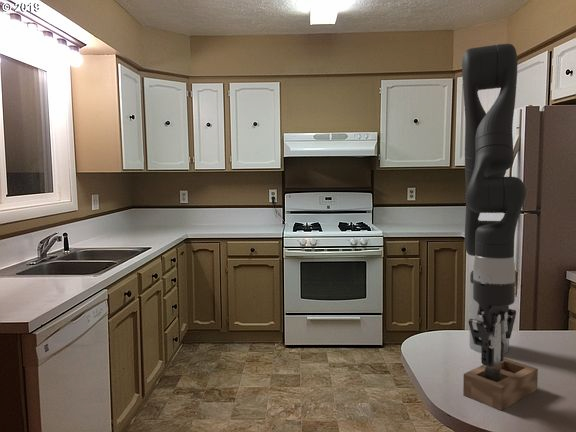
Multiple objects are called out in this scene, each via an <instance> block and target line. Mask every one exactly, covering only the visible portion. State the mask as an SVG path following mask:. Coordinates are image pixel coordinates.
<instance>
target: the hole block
mask: <svg viewBox="0 0 576 432" xmlns="http://www.w3.org/2000/svg"><path fill="white" fill-rule="evenodd" d="M538 371H539V368H537V367H534V366H530V365H527V364H525V363H522V362H521V363H520V362H518V361H514V360H511V359H509V358H506V357H504V358H503V361H502V362H501V378H500V381H499V382H494V381H492V380H489V379H486V378H484V365H483V364H482V365H479V366H478V367H476V368H473V369H471V370H469V371H466V372H464V373H463V384H462V386H463V388H462V390H463V396H464V397H468V398H470V399H471V400H474V401H477V402H480V403H481V404H484V405H486V406H489V407H491V408H492V409H496V410H498V411H503V410H505V409H506V408H508V407H511V406H512V405H514V404H515V403H517V402H519V401H520V400H522V399H523V398H526V397H527V396H529V395H531V394H533V393H534V392H536V391H537V390H538V379H539V377H538V374H539V372H538Z"/></svg>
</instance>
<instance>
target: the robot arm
mask: <svg viewBox="0 0 576 432" xmlns="http://www.w3.org/2000/svg"><path fill="white" fill-rule="evenodd" d="M461 70H462V71H461V72H462V73H461V76H462V90H463V104H464V118H465V119H464V126H465V127H464V132H465V134H464V174H465V192H466V193H465V203H466V204H465V219H464V222H465V223H464V225H465V226H464V248H465V252H466V253H467V254H468V255H469V256H473V257H474V260H473V261H474V262H473V269H472V270H471V271H470V276H469V277H470V281H469V287H470V288H469V320H468V325H469V343H468V344H469V348H470V349H471V350H473V351H475V352H478V353H481V357H480V359H481V364H482V365H486V366H489V367H491V366H493V365H494V348H493V347H494V340H495V337H497V335H498V327H499V323H502V324H501V362H502V361H503V358H505V357H504V354H507V353H508V352H509V348H510V339H511V337H512V332H513V328H514V324H515V319H516V316H517V310H516V309H513V308H512V309H511V308H510V306H511V305H513V304H515V302H516V301H515V299H516V298H515V297H516V296H515V294H516V293H515V292H516V291H515V290H516V263H515V238H516V237H515V235H516V229H517V224H518V221H519V218H520V215H521V212H522V209H523V207H524V204H525V201H526V196H527V189H526V185H525V183H524V182H523V181H522V179H521V178H520V177H518V176H517V177H516V176H506V173H507V171H508V170H509V169H510V168H511V167H512V166H513V164H514V138H513V137H514V136H513V128H514V126H513V123H514V113H515V107H516V95H517V82H518V81H517V79H518V55H517V50H516V47H515V46H514V45H513V44H511V43H501V44H500V43H499V44H493V45H484V46H479V47H471V48H468V49H466V50H465V51H464V53H463V56H462V62H461ZM493 89H500V90H499V93H498V95H497V98H496V100H495V101H494V102H493V104H492V106H491V107H490V108H489V109H488V111H487V112H486V111H485V109H484V107H483V105H482V103H481V100H480V98H479V93H478V92H479V91H484V90H493ZM481 214H504V215H503V217H502V218H501V220H479V218H480V215H481ZM485 329H488V330H492V332H489V331H486V330H485ZM487 336H489V342H488V338H487Z"/></svg>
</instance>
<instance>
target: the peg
mask: <svg viewBox="0 0 576 432" xmlns="http://www.w3.org/2000/svg"><path fill="white" fill-rule="evenodd" d="M501 324H502V323H499V327H498V335H497V337H495V340H494V347H493V348H494V365H493V366H491V367H489V366H486V365H484V378H486V379H489V380H492V381H494V382H499V381H500V378H501ZM485 330H486V331H489V332H492V330H488V329H485ZM487 338H488V342H489V336H487Z"/></svg>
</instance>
